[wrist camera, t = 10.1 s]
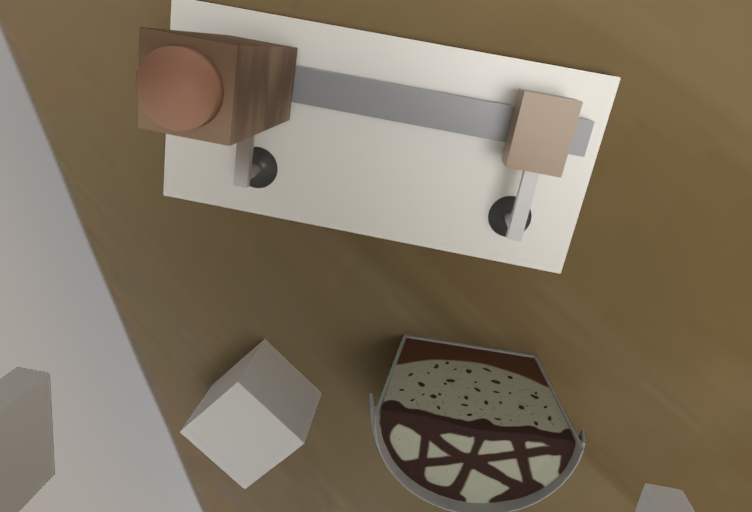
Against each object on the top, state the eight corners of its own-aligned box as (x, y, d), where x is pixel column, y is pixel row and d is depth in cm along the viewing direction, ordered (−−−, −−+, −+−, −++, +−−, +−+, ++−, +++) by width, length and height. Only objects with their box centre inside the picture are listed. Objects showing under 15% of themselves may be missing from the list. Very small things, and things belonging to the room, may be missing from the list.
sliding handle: (286, 182, 36) (213, 242, 24) (224, 170, 36) (123, 224, 25) (302, 48, 33) (228, 44, 22) (235, 35, 33) (126, 26, 22)
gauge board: (556, 265, 38) (572, 296, 33) (173, 190, 39) (135, 209, 34) (613, 76, 33) (641, 80, 29) (182, -2, 35) (141, -11, 30)
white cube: (269, 434, 45) (244, 489, 39) (213, 383, 44) (179, 432, 38) (322, 392, 43) (304, 443, 37) (265, 337, 42) (237, 381, 36)
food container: (372, 404, 43) (353, 502, 33) (382, 330, 41) (364, 414, 31) (539, 431, 42) (567, 540, 32) (558, 358, 40) (594, 452, 30)
